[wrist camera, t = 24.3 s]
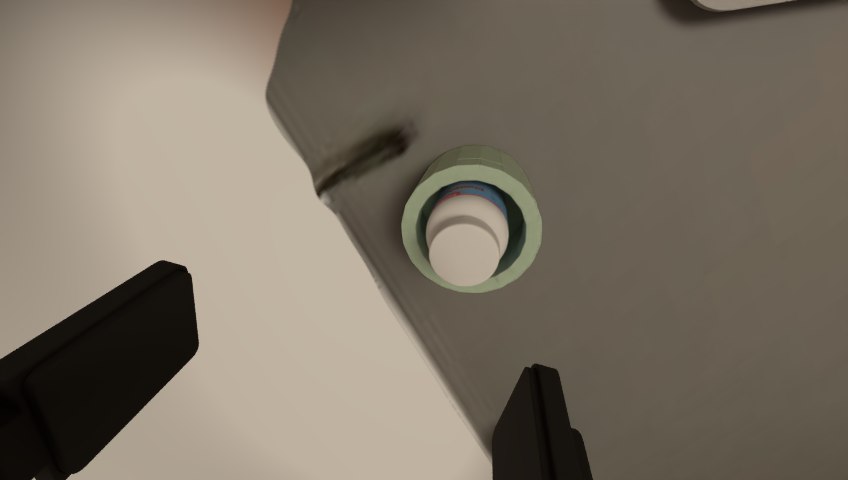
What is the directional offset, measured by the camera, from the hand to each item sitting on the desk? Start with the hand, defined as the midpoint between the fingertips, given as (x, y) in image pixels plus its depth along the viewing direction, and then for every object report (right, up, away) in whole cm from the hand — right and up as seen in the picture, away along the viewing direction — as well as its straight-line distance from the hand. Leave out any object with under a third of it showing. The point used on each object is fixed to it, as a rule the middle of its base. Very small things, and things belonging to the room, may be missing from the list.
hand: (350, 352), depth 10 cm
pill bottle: (+6, +7, +24) cm, 26 cm away
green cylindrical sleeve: (+7, +7, +24) cm, 26 cm away
